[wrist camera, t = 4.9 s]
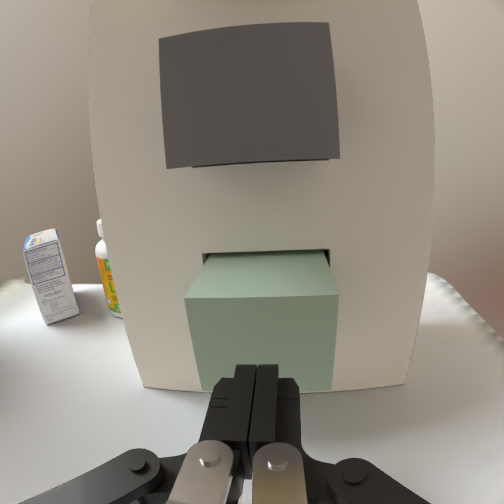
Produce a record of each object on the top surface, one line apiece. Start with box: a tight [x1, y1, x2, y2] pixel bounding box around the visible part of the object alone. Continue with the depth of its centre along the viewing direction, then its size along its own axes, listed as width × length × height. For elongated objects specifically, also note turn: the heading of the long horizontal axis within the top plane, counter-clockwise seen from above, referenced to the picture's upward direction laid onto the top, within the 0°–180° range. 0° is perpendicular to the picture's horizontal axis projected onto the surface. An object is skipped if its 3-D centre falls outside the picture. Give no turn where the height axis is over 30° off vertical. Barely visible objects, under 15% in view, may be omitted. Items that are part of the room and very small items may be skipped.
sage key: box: [184, 249, 339, 392], centre depth 16 cm, size 6×6×5 cm
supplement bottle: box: [96, 219, 122, 318], centre depth 31 cm, size 5×5×10 cm
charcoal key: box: [159, 22, 340, 169], centre depth 13 cm, size 6×6×5 cm
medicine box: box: [23, 229, 80, 324], centre depth 31 cm, size 8×4×9 cm, turn 38°
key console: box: [88, 0, 435, 393], centre depth 18 cm, size 18×8×32 cm, turn 85°
